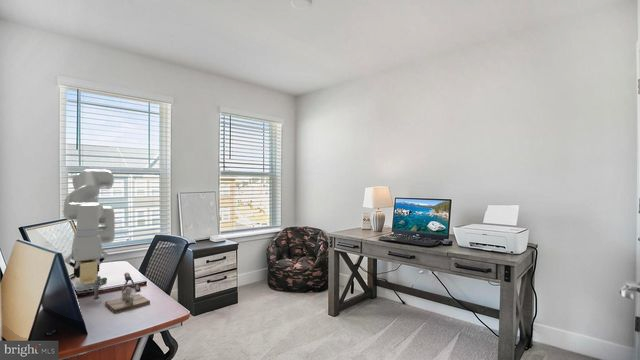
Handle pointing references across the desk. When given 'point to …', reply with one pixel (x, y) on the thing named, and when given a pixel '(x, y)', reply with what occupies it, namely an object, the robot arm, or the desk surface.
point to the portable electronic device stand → (127, 278)
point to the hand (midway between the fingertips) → (86, 275)
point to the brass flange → (87, 271)
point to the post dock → (127, 302)
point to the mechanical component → (98, 283)
